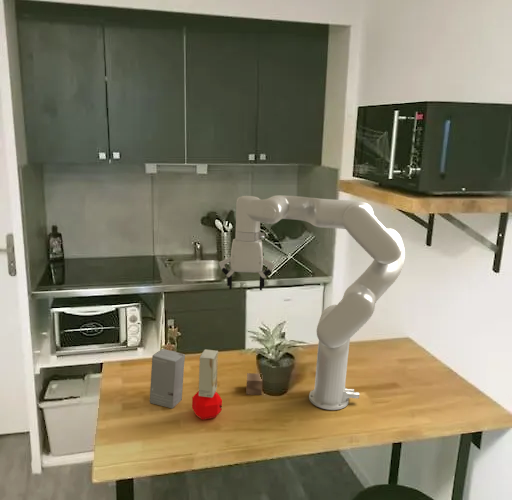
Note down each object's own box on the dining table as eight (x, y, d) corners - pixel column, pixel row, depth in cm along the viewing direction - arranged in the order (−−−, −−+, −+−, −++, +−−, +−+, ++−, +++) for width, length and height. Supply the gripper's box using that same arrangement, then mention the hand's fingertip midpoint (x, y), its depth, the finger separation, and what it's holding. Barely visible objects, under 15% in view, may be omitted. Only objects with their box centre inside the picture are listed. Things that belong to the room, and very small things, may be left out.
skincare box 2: (212, 398, 151) (213, 359, 148) (198, 396, 152) (199, 357, 149) (217, 387, 157) (218, 350, 154) (203, 386, 158) (204, 348, 155)
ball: (223, 420, 154) (224, 396, 152) (197, 424, 151) (198, 400, 149) (215, 406, 161) (216, 383, 160) (190, 410, 158) (190, 387, 157)
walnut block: (261, 387, 174) (262, 373, 173) (261, 395, 170) (262, 381, 168) (246, 386, 174) (247, 373, 173) (246, 394, 170) (246, 380, 168)
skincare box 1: (149, 403, 161) (149, 356, 157) (160, 393, 168) (161, 347, 164) (173, 409, 158) (174, 361, 155) (184, 398, 165) (185, 352, 161)
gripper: (274, 234, 167) (272, 286, 171) (220, 232, 166) (218, 284, 170) (276, 239, 160) (273, 293, 164) (219, 237, 159) (217, 291, 163)
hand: (245, 288), depth 167 cm, fingers open, 9 cm apart
